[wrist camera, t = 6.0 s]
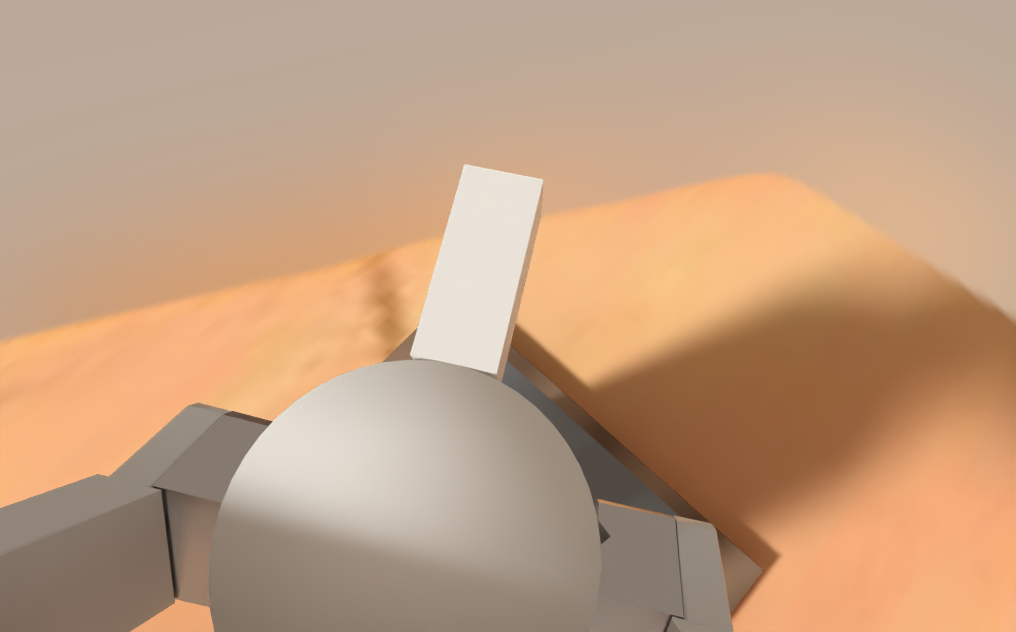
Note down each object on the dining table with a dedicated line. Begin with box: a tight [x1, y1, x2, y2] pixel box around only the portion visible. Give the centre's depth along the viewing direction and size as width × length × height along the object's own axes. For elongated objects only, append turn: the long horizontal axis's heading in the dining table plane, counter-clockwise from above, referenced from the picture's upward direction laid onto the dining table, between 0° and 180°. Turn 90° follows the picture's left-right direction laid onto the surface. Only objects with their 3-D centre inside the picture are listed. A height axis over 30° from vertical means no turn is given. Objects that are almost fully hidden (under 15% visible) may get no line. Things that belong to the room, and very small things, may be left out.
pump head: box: [208, 164, 601, 632], centre depth 13 cm, size 5×6×14 cm
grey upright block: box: [502, 361, 680, 517], centre depth 25 cm, size 8×8×18 cm
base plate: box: [382, 329, 763, 614], centre depth 34 cm, size 22×16×2 cm
